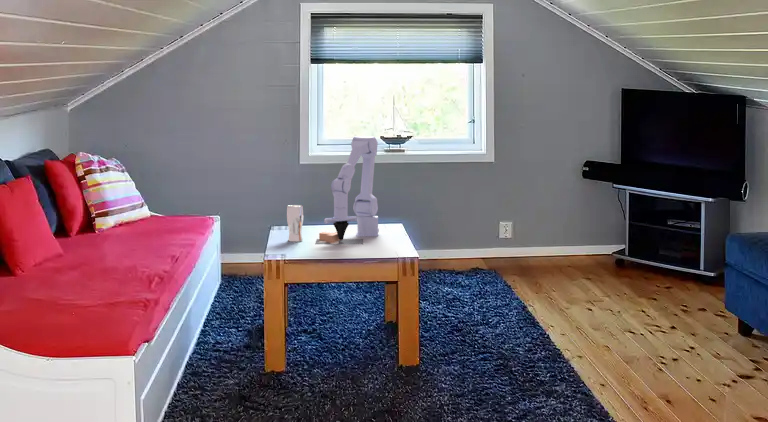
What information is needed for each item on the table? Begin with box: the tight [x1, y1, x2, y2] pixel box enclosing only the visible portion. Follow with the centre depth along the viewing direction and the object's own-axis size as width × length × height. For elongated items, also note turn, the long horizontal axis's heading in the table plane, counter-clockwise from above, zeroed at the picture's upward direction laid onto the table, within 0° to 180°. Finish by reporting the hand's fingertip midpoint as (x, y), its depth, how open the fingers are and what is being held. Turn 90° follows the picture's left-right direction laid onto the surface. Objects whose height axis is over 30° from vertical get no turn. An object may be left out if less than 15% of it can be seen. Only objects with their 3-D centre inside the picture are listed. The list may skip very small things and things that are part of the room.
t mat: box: [314, 238, 364, 245], centre depth 315 cm, size 20×12×1 cm, turn 92°
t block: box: [318, 231, 340, 243], centre depth 318 cm, size 8×9×3 cm
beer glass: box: [286, 204, 304, 243], centre depth 318 cm, size 7×7×15 cm
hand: (340, 239), depth 315 cm, fingers closed
